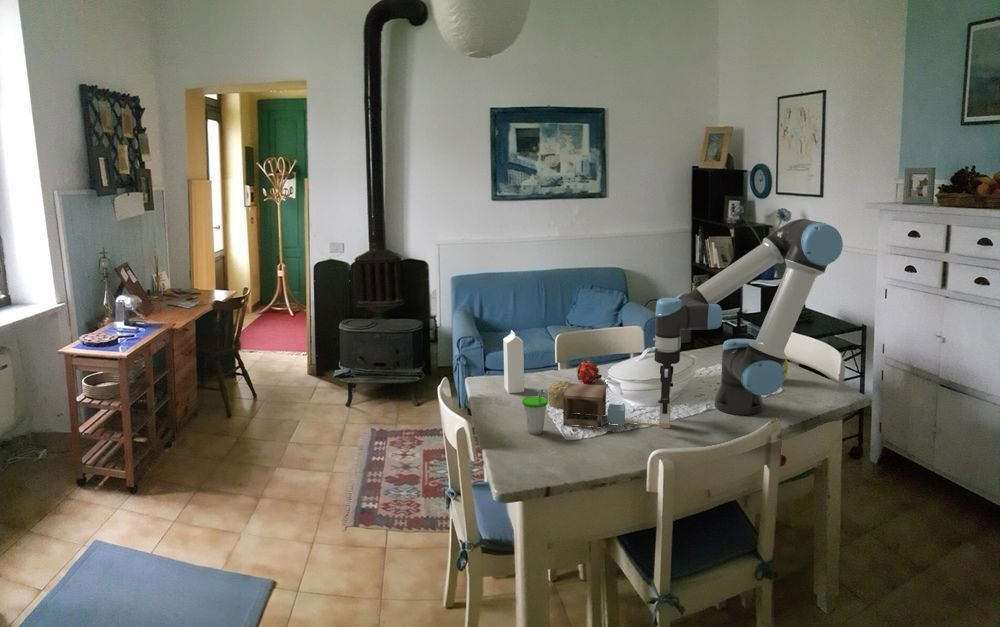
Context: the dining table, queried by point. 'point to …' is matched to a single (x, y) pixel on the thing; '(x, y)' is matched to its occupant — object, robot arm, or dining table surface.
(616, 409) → the tethered block
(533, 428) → the cup
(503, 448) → the dining table surface
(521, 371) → the milk
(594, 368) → the dragon fruit
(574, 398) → the brown wooden box
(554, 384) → the decorative item
